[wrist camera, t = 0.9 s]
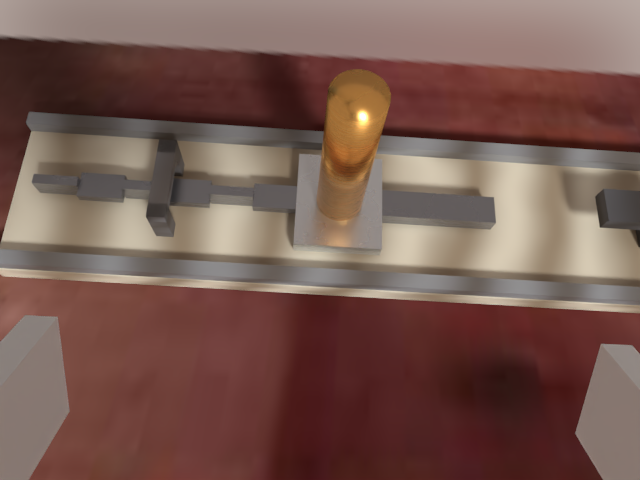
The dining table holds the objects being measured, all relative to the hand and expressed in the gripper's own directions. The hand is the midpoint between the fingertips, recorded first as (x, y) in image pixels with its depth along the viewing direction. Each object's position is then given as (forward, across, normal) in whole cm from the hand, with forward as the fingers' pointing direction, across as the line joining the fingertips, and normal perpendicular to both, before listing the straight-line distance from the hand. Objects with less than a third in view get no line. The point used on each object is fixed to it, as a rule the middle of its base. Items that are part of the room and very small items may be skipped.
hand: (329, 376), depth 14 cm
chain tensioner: (+27, -3, -5) cm, 28 cm away
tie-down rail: (+29, +3, -6) cm, 30 cm away
